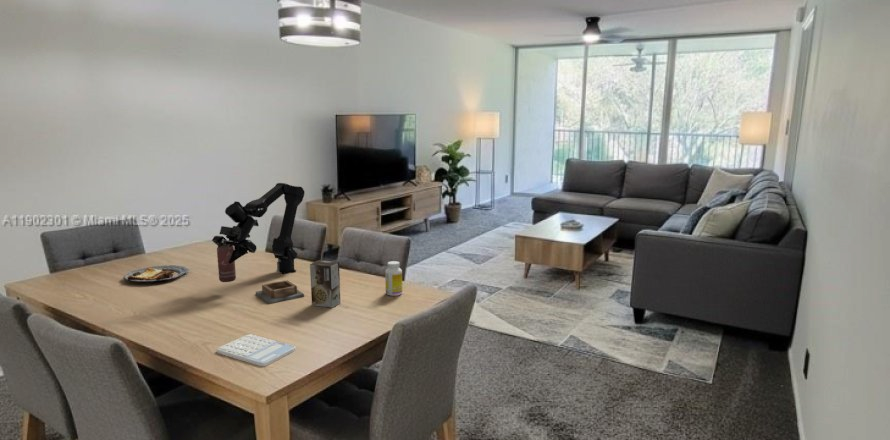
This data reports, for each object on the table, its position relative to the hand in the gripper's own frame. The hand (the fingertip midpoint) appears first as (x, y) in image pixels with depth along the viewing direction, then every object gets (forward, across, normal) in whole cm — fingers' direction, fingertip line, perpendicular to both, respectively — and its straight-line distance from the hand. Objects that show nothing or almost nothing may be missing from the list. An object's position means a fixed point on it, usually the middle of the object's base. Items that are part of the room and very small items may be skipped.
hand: (223, 262), depth 210 cm
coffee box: (+4, +42, +15) cm, 45 cm away
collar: (+4, +20, +15) cm, 25 cm away
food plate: (+7, -44, +12) cm, 46 cm away
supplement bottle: (-11, +59, +30) cm, 67 cm away
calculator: (+34, +49, -15) cm, 61 cm away
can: (+5, 0, +6) cm, 8 cm away
